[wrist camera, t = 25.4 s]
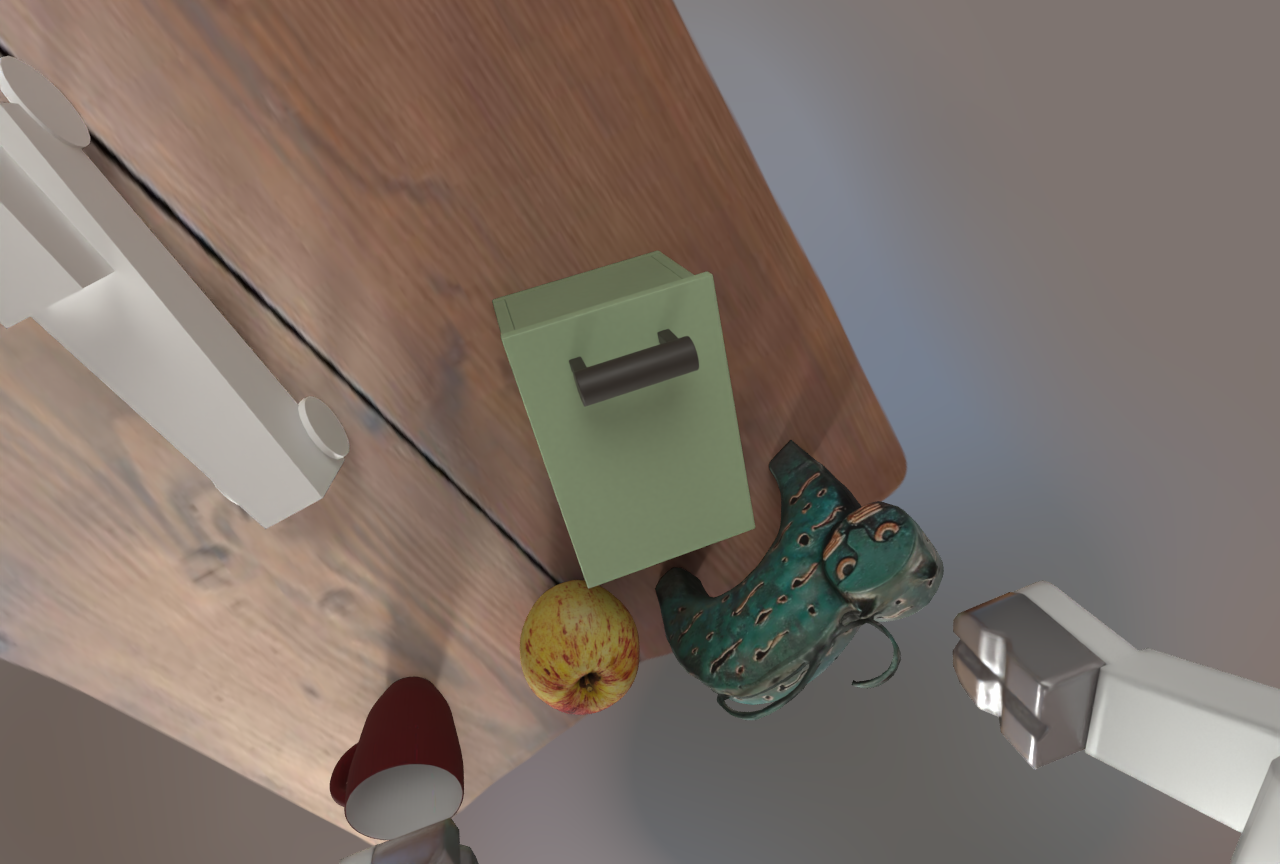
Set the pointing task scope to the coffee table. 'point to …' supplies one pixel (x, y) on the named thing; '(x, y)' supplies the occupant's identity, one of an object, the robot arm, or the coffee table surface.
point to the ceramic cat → (801, 592)
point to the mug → (402, 764)
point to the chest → (586, 290)
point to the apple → (579, 648)
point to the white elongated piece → (144, 314)
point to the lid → (636, 425)
